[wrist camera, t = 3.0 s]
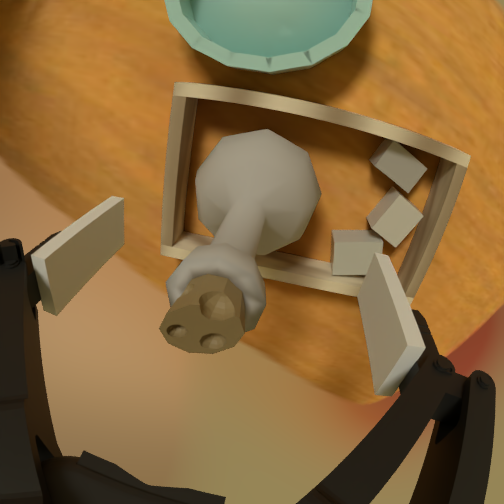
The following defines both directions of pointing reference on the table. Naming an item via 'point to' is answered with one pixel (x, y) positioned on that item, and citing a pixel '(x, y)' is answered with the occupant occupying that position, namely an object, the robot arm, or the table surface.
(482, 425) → the robot arm
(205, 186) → the potion bottle
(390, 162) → the pebble
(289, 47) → the bowl
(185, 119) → the tray
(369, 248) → the grey block
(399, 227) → the pebble
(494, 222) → the table surface
